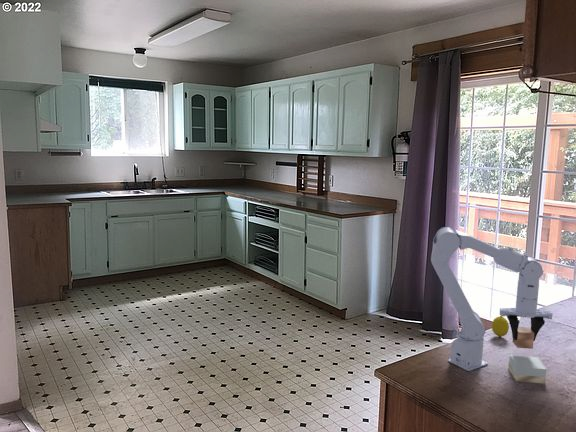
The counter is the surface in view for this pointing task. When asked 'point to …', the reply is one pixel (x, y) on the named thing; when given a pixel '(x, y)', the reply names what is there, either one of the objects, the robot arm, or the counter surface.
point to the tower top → (527, 366)
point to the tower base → (526, 377)
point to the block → (524, 338)
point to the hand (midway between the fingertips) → (523, 339)
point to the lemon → (500, 326)
